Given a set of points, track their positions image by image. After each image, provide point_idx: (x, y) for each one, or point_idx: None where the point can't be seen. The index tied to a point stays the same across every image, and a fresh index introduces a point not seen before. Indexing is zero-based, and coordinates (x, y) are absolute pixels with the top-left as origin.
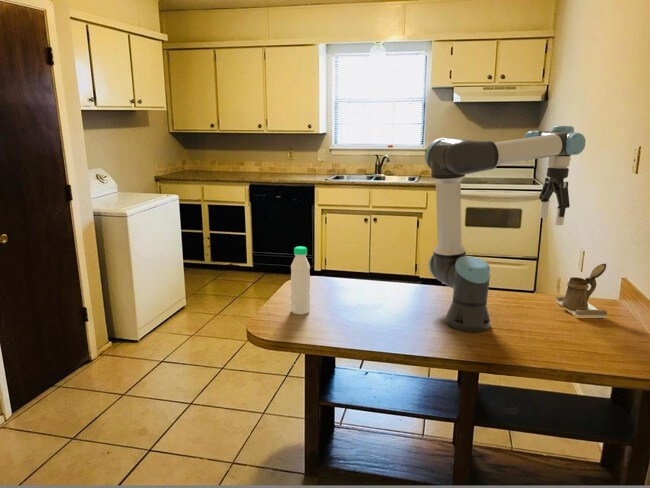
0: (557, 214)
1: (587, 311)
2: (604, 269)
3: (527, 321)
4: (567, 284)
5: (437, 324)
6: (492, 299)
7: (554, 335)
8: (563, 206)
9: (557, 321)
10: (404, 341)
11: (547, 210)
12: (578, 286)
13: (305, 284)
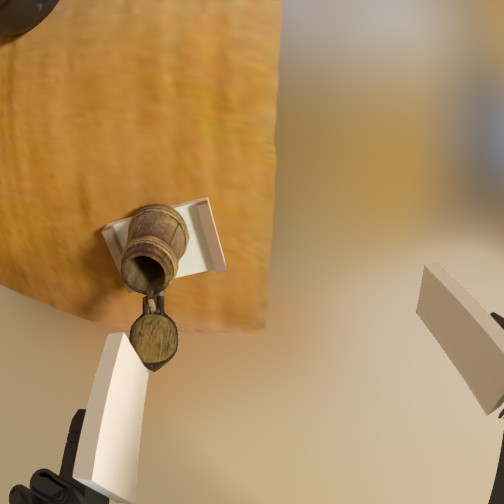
0: (87, 415)
1: (110, 252)
2: None
3: (57, 108)
4: (148, 237)
5: None
6: (197, 25)
7: (10, 161)
8: (13, 494)
9: (77, 176)
10: None
11: (450, 354)
12: (120, 262)
13: None
